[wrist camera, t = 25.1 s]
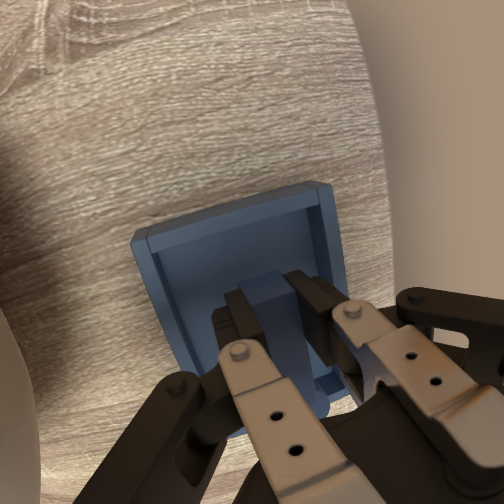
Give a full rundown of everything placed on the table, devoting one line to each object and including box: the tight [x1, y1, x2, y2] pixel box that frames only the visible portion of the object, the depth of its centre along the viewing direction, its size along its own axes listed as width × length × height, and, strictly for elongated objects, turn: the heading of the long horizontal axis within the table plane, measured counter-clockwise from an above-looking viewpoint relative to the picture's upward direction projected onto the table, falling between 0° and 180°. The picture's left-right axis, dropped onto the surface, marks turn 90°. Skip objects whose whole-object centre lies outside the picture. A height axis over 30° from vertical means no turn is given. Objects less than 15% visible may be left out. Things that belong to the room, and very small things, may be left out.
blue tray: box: [130, 180, 350, 439], centre depth 18 cm, size 10×14×2 cm
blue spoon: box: [236, 269, 330, 419], centre depth 14 cm, size 9×4×2 cm, turn 14°
